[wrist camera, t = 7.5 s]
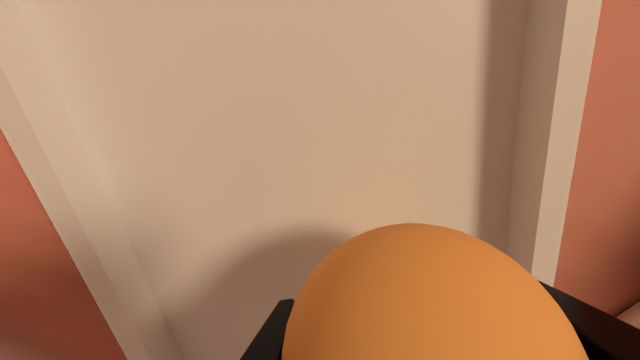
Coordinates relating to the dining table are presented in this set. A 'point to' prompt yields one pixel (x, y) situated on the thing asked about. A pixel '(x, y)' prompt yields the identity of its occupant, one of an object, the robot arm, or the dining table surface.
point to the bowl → (631, 315)
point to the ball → (425, 303)
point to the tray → (284, 142)
